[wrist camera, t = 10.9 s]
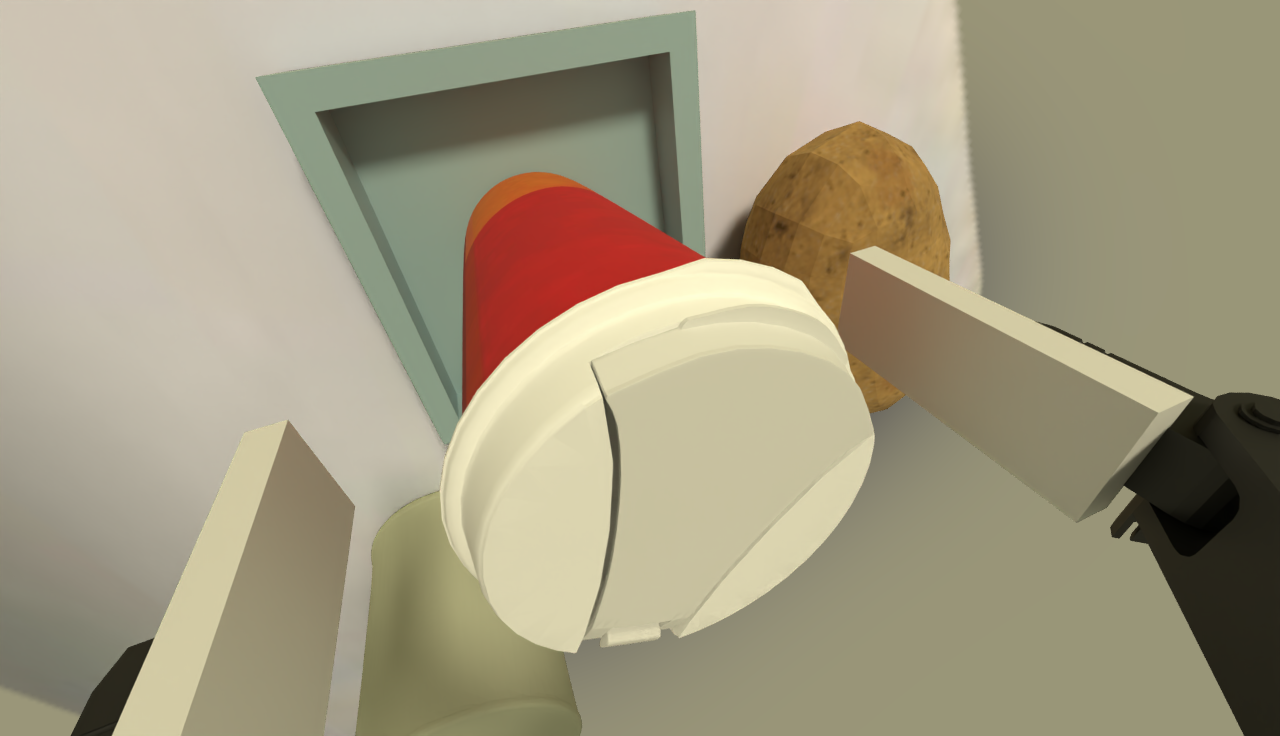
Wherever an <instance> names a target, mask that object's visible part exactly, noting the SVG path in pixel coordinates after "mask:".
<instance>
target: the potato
mask: <svg viewBox="0 0 1280 736" xmlns="http://www.w3.org/2000/svg"><path fill="white" fill-rule="evenodd" d="M873 246H876V247H879V248H881V249H883V250H885V251H887V252H889V253H891V254H893V255H895V256H898V257H900V258H902V259H904V260H906V261H908V262H910V263H912V264H914V265H917V266H919V267H921V268H923V269H925V270H927V271H929V272H931V273H934V274H936V275H938V276H940V277H942V278H944V279H946V280H948V281H949V257H950V237H949V233H948V230H947V226H946V222H945V218H944V215H943V210H942V205H941V200H940V195H939V190H938V186H937V185H936V183H935V181H934V179H933V178H932V176H931V174H930V173H929V171H928V169H927V168H926V166H925V164H924V163H923V162H922V160H921V159H920V157H919V156H918V154H917V153H916V151H915V150H914V149H913V147H912V146H910V145H908V144H906V143H904V142H902V141H900V140H899V139H897V138H895V137H893V136H891V135H889V134H887V133H885V132H883V131H880V130H878V129H876V128H874V127H871V126H869V125H867V124H865V123H862V122H860V121H859V122H856V123H853V124H849V125H846V126H843V127H840V128H836V129H833V130H830V131H827V132H824V133H823V134H821V135H820V136H818V137H817V138H815V139H813V140H812V141H810V142H809V143H807V144H806V145H804V146H803V147H801V148H799V149H798V150H796V151H795V152H793V153H792V154H790V155H788V156H787V157H786V158H785V159H784V161H783V162H782V163H781V165H780V166H779V167H778V169H777V170H776V171H775V173H774V174H773V175H772V177H771V178H770V179H769V181H768V182H767V183H766V185H765V186H764V187H763V189H762V190H761V191H760V193H759V194H758V195H757V197H756V199H755V202H754V204H753V207H752V210H751V212H750V215H749V218H748V220H747V223H746V226H745V231H744V235H743V240H742V245H741V252H740V260H745V261H749V262H753V263H758V264H762V265H766V266H770V267H774V268H776V269H778V270H780V271H782V272H785V273H787V274H789V275H791V276H793V277H795V278H797V279H799V280H801V281H802V282H803V283H804V284H805V286H806V287H807V289H808V290H809V292H810V293H811V295H812V296H813V298H814V299H815V301H816V302H817V303H818V305H819V306H820V307H821V309H822V310H823V311H824V312H825V314H826V315H827V316H828V317H829V319H830V320H831V321H832V322H833V324H834V325H835V327H836V329H837V330H838V324H839V318H840V312H841V305H842V299H843V293H844V287H845V281H846V275H847V269H848V263H849V257H850V253H852V252H856V251H859V250H862V249H866V248H869V247H873ZM846 353H847V356H848V361H849V365H850V370H851V372H852V374H853V376H854V379H855V383H856V384H857V385H858V386H859V387H860V389H861V392H862V394H863V397H864V399H865V402H866V405H867V407H868V410H869V413H873V412H877V411H881V410H885V409H888V408H889V407H890V406H892V405H893V404H895V403H896V402H897V401H898V400H900V399H901V398H903V397H904V396H905V394H904V393H903V392H901V391H900V390H899V389H897V388H896V387H895V386H893V385H892V384H891V383H889V382H888V381H887V380H885V379H884V378H883V377H881V376H880V375H879V374H877V373H876V372H875V371H873V370H872V369H871V368H869V367H868V366H867V365H865V364H864V363H863V362H861V361H860V360H859V359H857V358H856V357H855V356H853V355H852V354H851V353H849V352H848V351H847V350H846Z"/></svg>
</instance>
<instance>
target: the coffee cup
mask: <svg viewBox="0 0 1280 736" xmlns="http://www.w3.org/2000/svg"><path fill="white" fill-rule="evenodd" d="M874 435H875V434H874V429H873V425H872V422H871V418H870V414H869V410H868V407H867V405H866V402H865V399H864V397H863V394H862V392H861V389H860V387H859V386H858V385H857V384H856V383H855V379H854V376H853V374H852V372H851V370H850V365H849V361H848V356H847V353H846V350H845V347H844V344H843V342H842V340H841V338H840V336H839V334H838V331H837V329H836V327H835V325H834V324H833V322H832V321H831V320H830V319H829V317H828V316H827V315H826V314H825V312H824V311H823V310H822V309H821V307H820V306H819V305H818V303H817V302H816V301H815V299H814V298H813V296H812V295H811V293H810V292H809V290H808V289H807V287H806V286H805V284H804V283H803V282H802V281H801V280H799V279H797V278H795V277H793V276H791V275H789V274H787V273H785V272H782V271H780V270H778V269H776V268H774V267H770V266H766V265H762V264H758V263H753V262H749V261H745V260H738V259H714V258H705V257H704V256H702V255H700V254H699V253H697V252H695V251H694V250H692V249H690V248H689V247H687V246H685V245H684V244H682V243H680V242H679V241H677V240H675V239H674V238H672V237H670V236H669V235H667V234H665V233H664V232H662V231H660V230H659V229H657V228H655V227H654V226H652V225H650V224H649V223H647V222H645V221H644V220H642V219H640V218H639V217H637V216H635V215H634V214H632V213H630V212H629V211H627V210H625V209H624V208H622V207H620V206H618V205H617V204H615V203H613V202H612V201H610V200H608V199H607V198H605V197H603V196H601V195H600V194H598V193H596V192H594V191H593V190H591V189H589V188H587V187H585V186H583V185H581V184H580V183H578V182H576V181H574V180H571V179H569V178H566V177H564V176H561V175H557V174H553V173H547V172H530V173H523V174H519V175H515V176H512V177H510V178H508V179H505V180H503V181H502V182H500V183H498V184H497V185H495V186H494V187H493V188H491V189H490V190H489V191H488V192H487V193H486V194H485V195H484V196H483V197H482V199H481V200H480V201H479V203H478V204H477V205H476V207H475V209H474V210H473V213H472V215H471V217H470V220H469V222H468V226H467V231H466V236H465V244H464V262H463V325H462V416H461V418H460V420H459V421H458V423H457V425H456V428H455V431H454V433H453V436H452V438H451V441H450V444H449V446H448V449H447V452H446V454H445V457H444V463H443V470H442V476H441V483H440V502H441V516H442V522H443V525H444V528H445V531H446V534H447V537H448V540H449V543H450V545H451V547H452V548H453V550H454V551H455V553H456V555H457V556H458V558H459V559H460V561H461V562H462V564H463V565H464V566H465V567H466V568H467V570H468V571H469V572H470V573H471V574H472V575H473V576H474V577H475V578H476V579H477V580H478V581H479V584H480V587H481V591H482V593H483V595H484V597H485V598H486V600H487V601H488V603H489V604H490V606H491V608H492V609H493V611H494V612H495V614H496V615H497V616H498V617H499V618H500V619H501V620H502V621H503V622H504V623H505V624H506V625H507V626H509V627H510V628H511V629H512V630H513V631H514V632H515V633H516V634H518V635H520V636H522V637H523V638H525V639H527V640H529V641H531V642H533V643H534V644H537V645H540V646H543V647H547V648H550V649H553V650H556V651H563V652H570V653H576V652H577V650H578V648H579V646H580V643H581V641H582V640H588V639H595V638H601V640H600V643H599V646H600V647H601V648H604V647H612V646H618V645H625V644H632V643H639V642H645V641H652V640H656V639H658V638H660V636H661V631H660V630H662V629H671V631H672V632H673V634H674V635H678V638H680V637H683V636H685V635H688V634H690V633H693V632H696V631H699V630H701V629H703V628H705V627H707V626H709V625H711V624H713V623H715V622H718V621H720V620H722V619H724V618H726V617H728V616H729V615H731V614H733V613H735V612H737V611H738V610H740V609H742V608H744V607H745V606H747V605H748V604H750V603H752V602H753V601H755V600H756V599H758V598H759V597H760V596H762V595H764V594H765V593H767V592H768V591H769V590H770V589H772V588H773V587H775V586H776V585H777V584H779V583H780V582H781V581H783V580H784V579H785V578H786V577H788V576H789V575H790V574H791V573H792V572H793V571H794V570H796V569H797V568H798V567H799V566H800V565H801V564H802V563H803V562H805V561H806V560H807V559H808V558H809V557H810V556H811V555H812V553H813V552H814V551H815V550H816V549H817V548H818V547H819V546H820V545H821V544H822V543H823V542H824V541H825V540H826V538H827V537H828V536H829V535H830V534H831V532H832V531H833V530H834V529H835V527H836V526H837V525H838V524H839V522H840V521H841V519H842V518H843V516H844V515H845V513H846V512H847V510H848V509H849V507H850V506H851V504H852V502H853V500H854V499H855V496H856V495H857V493H858V491H859V489H860V487H861V485H862V483H863V481H864V478H865V475H866V472H867V469H868V467H869V465H870V460H871V456H872V451H873V447H874ZM659 622H660V623H659Z"/></svg>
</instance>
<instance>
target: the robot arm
mask: <svg viewBox="0 0 1280 736" xmlns="http://www.w3.org/2000/svg"><path fill="white" fill-rule="evenodd" d="M837 331H838V334H839V336H840V338H841V340H842V342H843V344H844V347H845V350H847V351H848V352H849V353H851V354H852V355H853V356H855V357H856V358H857V359H859V360H860V361H861V362H863V363H864V364H865V365H867V366H868V367H869V368H871V369H872V370H873V371H875V372H876V373H877V374H879V375H880V376H881V377H883V378H884V379H885V380H887V381H888V382H889V383H891V384H892V385H893V386H895V387H896V388H897V389H899V390H900V391H901V392H903V393H904V394H905V395H907V396H908V397H909V398H911V399H912V400H913V401H915V402H916V403H917V404H919V405H920V406H921V407H923V408H924V409H925V410H927V411H928V412H929V413H931V414H932V415H933V416H935V417H936V418H938V419H939V420H940V421H941V422H943V423H944V424H945V425H947V426H948V427H949V428H951V429H952V430H953V431H955V432H956V433H958V434H959V435H960V436H961V437H963V438H964V439H965V440H967V441H968V442H969V443H971V444H972V445H973V446H975V447H976V448H977V449H979V450H980V451H981V452H983V453H984V454H985V455H987V456H988V457H989V458H991V459H992V460H993V461H995V462H996V463H997V464H999V465H1000V466H1001V467H1003V468H1004V469H1005V470H1007V471H1008V472H1009V473H1011V474H1012V475H1013V476H1015V477H1016V478H1017V479H1019V480H1020V481H1021V482H1023V483H1024V484H1025V485H1027V486H1028V487H1029V488H1031V489H1032V490H1033V491H1035V492H1036V493H1037V494H1039V495H1040V496H1041V497H1043V498H1044V499H1045V500H1047V501H1048V502H1049V503H1051V504H1052V505H1053V506H1055V507H1056V508H1057V509H1059V510H1060V511H1061V512H1063V513H1064V514H1065V515H1067V516H1068V517H1069V518H1071V519H1072V520H1073V521H1075V522H1076V523H1077V522H1079V521H1081V520H1083V519H1085V518H1087V517H1089V516H1091V515H1093V514H1095V513H1097V512H1099V511H1101V510H1103V509H1105V508H1107V507H1108V505H1109V504H1110V503H1111V501H1112V500H1113V499H1114V498H1115V496H1116V495H1117V494H1118V492H1119V491H1120V490H1121V489H1122V487H1123V486H1125V487H1127V488H1128V489H1130V490H1131V491H1133V492H1135V493H1136V495H1135V497H1134V498H1133V499H1132V500H1131V501H1130V503H1129V504H1128V505H1127V506H1126V507H1125V509H1124V510H1123V511H1122V512H1121V514H1120V515H1119V516H1118V517H1117V518H1116V520H1115V521H1114V522H1113V524H1112V525H1111V527H1110V528H1111V535H1112V537H1114V538H1120V537H1121V536H1122V535H1123V534H1124V533H1125V531H1126V530H1127V529H1128V528H1129V527H1130V526H1131V525H1132V523H1133V522H1137V523H1138V524H1139V525H1138V527H1137V528H1136V529H1135V530H1134V531H1133V532H1132V534H1131V537H1130V540H1131V541H1135V542H1141V543H1146V544H1149V546H1150V548H1151V551H1152V553H1153V555H1154V556H1155V558H1156V560H1157V562H1158V564H1159V567H1160V569H1161V570H1162V573H1163V575H1164V577H1165V578H1166V581H1167V583H1168V584H1169V586H1170V588H1171V590H1172V592H1173V594H1174V596H1175V598H1176V600H1177V602H1178V604H1179V606H1180V608H1181V610H1182V612H1183V614H1184V616H1185V618H1186V620H1187V622H1188V624H1189V626H1190V628H1191V630H1192V632H1193V634H1194V636H1195V638H1196V640H1197V642H1198V644H1199V646H1200V648H1201V650H1202V652H1203V654H1204V656H1205V658H1206V660H1207V662H1208V664H1209V666H1210V668H1211V670H1212V672H1213V674H1214V676H1215V678H1216V680H1217V682H1218V684H1219V686H1220V688H1221V690H1222V692H1223V694H1224V696H1225V698H1226V700H1227V702H1228V704H1229V706H1230V708H1231V710H1232V712H1233V714H1234V716H1235V718H1236V720H1237V722H1238V724H1239V726H1240V728H1241V730H1242V732H1243V734H1244V736H1280V400H1279V399H1276V398H1273V397H1269V396H1263V395H1258V394H1252V393H1227V394H1224V395H1220V396H1217V397H1216V399H1215V400H1213V399H1210V398H1208V397H1205V396H1203V395H1200V394H1198V393H1196V392H1193V391H1191V390H1189V389H1187V388H1185V387H1183V386H1181V385H1178V384H1176V383H1174V382H1172V381H1170V380H1168V379H1166V378H1163V377H1161V376H1159V375H1157V374H1155V373H1152V372H1150V371H1148V370H1146V369H1144V368H1142V367H1140V366H1138V365H1136V364H1133V363H1131V362H1129V361H1127V360H1125V359H1123V358H1121V357H1118V356H1116V355H1114V354H1112V353H1110V354H1106V353H1105V350H1103V349H1101V348H1099V347H1097V346H1095V345H1093V344H1090V343H1088V342H1087V343H1083V342H1082V339H1080V338H1078V337H1076V336H1073V335H1071V334H1069V333H1067V332H1065V331H1063V330H1061V329H1059V328H1056V327H1054V326H1050V325H1047V324H1043V323H1040V322H1036V321H1033V320H1031V319H1029V318H1026V317H1024V316H1022V315H1020V314H1018V313H1016V312H1014V311H1012V310H1010V309H1007V308H1005V307H1003V306H1001V305H999V304H997V303H995V302H993V301H990V300H988V299H986V298H984V297H982V296H980V295H978V294H976V293H974V292H972V291H969V290H967V289H965V288H963V287H961V286H959V285H957V284H955V283H953V282H950V281H948V280H946V279H944V278H942V277H940V276H938V275H936V274H934V273H931V272H929V271H927V270H925V269H923V268H921V267H919V266H917V265H914V264H912V263H910V262H908V261H906V260H904V259H902V258H900V257H898V256H895V255H893V254H891V253H889V252H887V251H885V250H883V249H881V248H879V247H876V246H873V247H869V248H866V249H862V250H859V251H856V252H852V253H850V257H849V263H848V269H847V275H846V281H845V287H844V293H843V299H842V305H841V312H840V318H839V324H838V330H837ZM354 510H355V506H354V504H353V503H352V502H351V500H350V499H349V498H348V497H347V495H346V494H345V493H344V491H343V490H342V489H341V488H340V486H339V485H338V484H337V482H336V481H335V480H334V479H333V477H332V476H331V475H330V473H329V472H328V471H327V470H326V468H325V467H324V466H323V464H322V463H321V462H320V460H319V459H318V458H317V457H316V455H315V454H314V453H313V451H312V450H311V449H310V448H309V446H308V445H307V444H306V442H305V441H304V440H303V439H302V437H301V436H300V435H299V433H298V432H297V431H296V430H295V428H294V427H293V426H292V424H291V423H290V422H289V420H286V421H282V422H279V423H275V424H272V425H269V426H265V427H262V428H259V429H255V430H252V431H248V432H245V433H244V435H243V437H242V439H241V442H240V444H239V446H238V448H237V451H236V453H235V455H234V458H233V460H232V462H231V464H230V467H229V469H228V471H227V474H226V476H225V478H224V481H223V483H222V485H221V487H220V490H219V492H218V494H217V497H216V499H215V501H214V503H213V506H212V508H211V510H210V513H209V515H208V517H207V519H206V522H205V524H204V526H203V529H202V531H201V533H200V535H199V538H198V540H197V542H196V545H195V547H194V549H193V551H192V554H191V556H190V558H189V561H188V563H187V565H186V567H185V570H184V572H183V574H182V577H181V579H180V581H179V583H178V586H177V588H176V590H175V593H174V595H173V597H172V599H171V602H170V604H169V606H168V609H167V611H166V613H165V615H164V618H163V620H162V622H161V625H160V627H159V629H158V632H157V634H156V636H155V638H153V639H150V640H148V641H145V642H142V643H139V644H137V645H134V646H131V647H129V648H128V649H127V650H126V651H125V652H124V654H123V655H122V656H121V657H120V659H119V660H118V661H117V662H116V663H115V665H114V666H113V667H112V668H111V670H110V671H109V672H108V673H107V675H106V676H105V677H104V678H103V680H102V681H101V682H100V683H99V685H98V686H97V687H96V688H95V690H94V691H93V692H92V694H91V696H90V698H89V700H88V702H87V704H86V706H85V708H84V710H83V712H82V714H81V716H80V718H79V720H78V722H77V724H76V726H75V728H74V730H73V732H72V734H71V736H324V729H325V722H326V715H327V707H328V700H329V693H330V685H331V678H332V671H333V664H334V656H335V649H336V642H337V634H338V627H339V620H340V612H341V605H342V598H343V590H344V583H345V576H346V569H347V561H348V554H349V547H350V539H351V532H352V525H353V517H354Z"/></svg>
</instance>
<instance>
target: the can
mask: <svg viewBox="0 0 1280 736" xmlns="http://www.w3.org/2000/svg"><path fill="white" fill-rule="evenodd" d="M371 560H372V565H373V568H372V584H371V596H370V606H369V615H368V625H367V634H366V644H365V653H364V663H363V673H362V682H361V691H360V700H359V708H358V717H357V725H356V734H355V736H580V733H581V729H582V721H581V717H580V714H579V712H578V710H577V706H576V702H575V698H574V694H573V690H572V686H571V682H570V678H569V674H568V670H567V665H566V661H565V657H564V652H563V651H556V650H553V649H550V648H547V647H543V646H540V645H537V644H534V643H533V642H531V641H529V640H527V639H525V638H523V637H522V636H520V635H518V634H516V633H515V632H514V631H513V630H512V629H511V628H510V627H509V626H507V625H506V624H505V623H504V622H503V621H502V620H501V619H500V618H499V617H498V616H497V615H496V614H495V612H494V611H493V609H492V608H491V606H490V604H489V603H488V601H487V600H486V598H485V597H484V595H483V593H482V591H481V587H480V584H479V581H478V580H477V579H476V578H475V577H474V576H473V575H472V574H471V573H470V572H469V571H468V570H467V568H466V567H465V566H464V565H463V564H462V562H461V561H460V559H459V558H458V556H457V555H456V553H455V551H454V550H453V548H452V547H451V545H450V543H449V540H448V537H447V534H446V531H445V528H444V525H443V522H442V516H441V502H440V491H438V492H435V493H432V494H429V495H426V496H424V497H421V498H419V499H417V500H415V501H413V502H411V503H409V504H408V505H406V506H404V507H403V508H401V509H400V510H398V511H397V512H396V513H395V514H393V515H392V516H391V517H390V518H389V519H388V520H387V521H386V522H385V523H384V525H383V526H382V527H381V528H380V530H379V532H378V533H377V535H376V537H375V539H374V542H373V545H372V550H371Z"/></svg>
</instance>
